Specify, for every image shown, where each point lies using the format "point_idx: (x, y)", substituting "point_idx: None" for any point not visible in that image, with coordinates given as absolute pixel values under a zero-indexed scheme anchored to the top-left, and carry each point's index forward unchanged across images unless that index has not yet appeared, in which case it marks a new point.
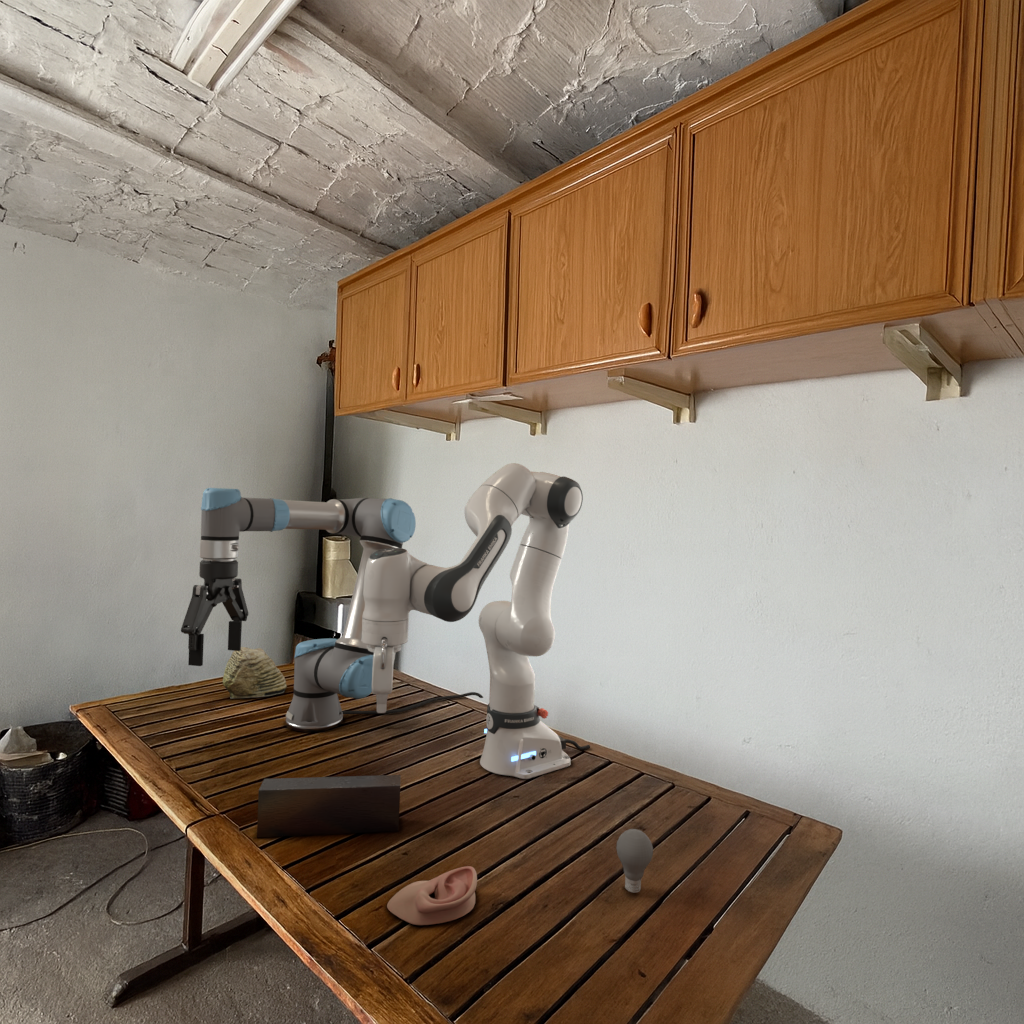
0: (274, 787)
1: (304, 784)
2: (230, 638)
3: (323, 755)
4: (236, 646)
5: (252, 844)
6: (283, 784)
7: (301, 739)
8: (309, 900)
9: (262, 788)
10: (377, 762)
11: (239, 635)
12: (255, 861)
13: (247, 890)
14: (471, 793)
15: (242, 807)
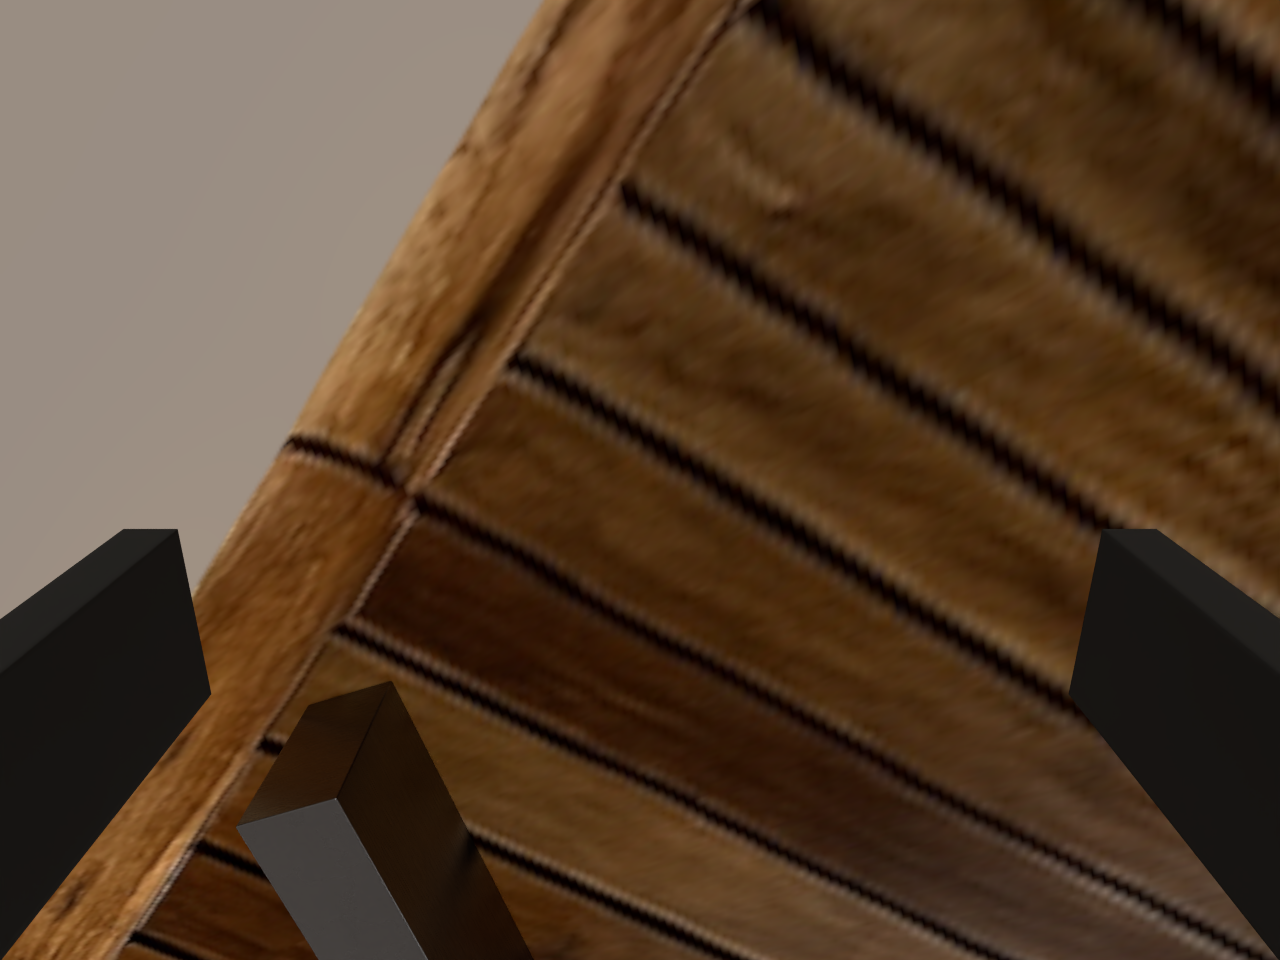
0: (280, 867)
1: (350, 946)
2: (1212, 671)
3: (1038, 625)
4: (1109, 698)
5: (269, 710)
6: (319, 884)
7: (1242, 441)
8: (102, 953)
9: (253, 833)
10: (988, 843)
11: (1217, 877)
12: (191, 763)
13: None
14: None
15: (483, 550)
